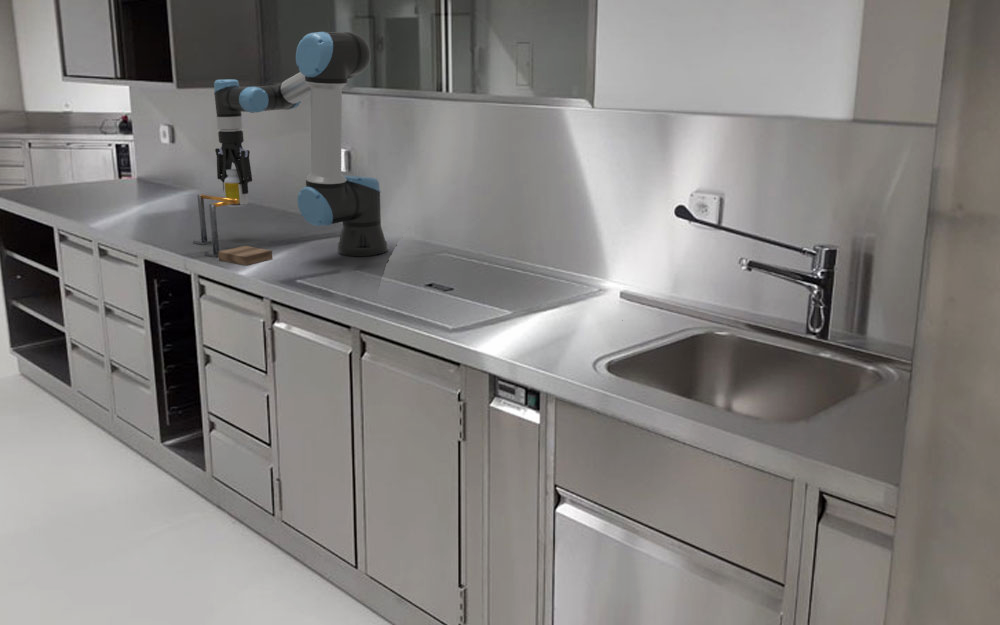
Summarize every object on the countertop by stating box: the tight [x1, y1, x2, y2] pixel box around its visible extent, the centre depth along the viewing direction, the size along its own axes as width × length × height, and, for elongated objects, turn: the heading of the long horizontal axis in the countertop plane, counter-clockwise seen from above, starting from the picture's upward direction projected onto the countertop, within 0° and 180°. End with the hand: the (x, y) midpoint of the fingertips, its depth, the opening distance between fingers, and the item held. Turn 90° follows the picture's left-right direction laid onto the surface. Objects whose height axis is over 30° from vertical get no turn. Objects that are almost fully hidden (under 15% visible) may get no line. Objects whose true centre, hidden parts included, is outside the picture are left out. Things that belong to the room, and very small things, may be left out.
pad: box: [218, 245, 273, 266], centre depth 274 cm, size 12×10×2 cm
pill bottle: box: [224, 168, 248, 208], centre depth 296 cm, size 6×6×12 cm
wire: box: [192, 193, 239, 258], centre depth 286 cm, size 22×14×16 cm, turn 55°
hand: (236, 202), depth 297 cm, fingers closed on pill bottle, 6 cm apart
